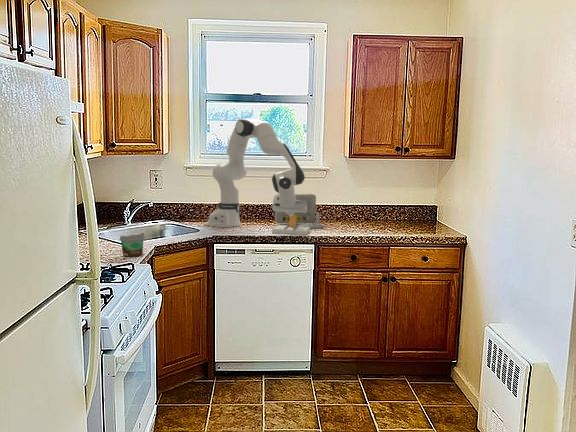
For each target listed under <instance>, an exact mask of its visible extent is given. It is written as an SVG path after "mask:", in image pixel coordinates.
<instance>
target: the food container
mask: <svg viewBox="0 0 576 432" xmlns="http://www.w3.org/2000/svg"><path fill="white" fill-rule="evenodd" d="M145 239H146V237H145V233H143V232H141V234H131V235H128V236H127V235H125V236H124V235H120V237H119V241H121V242H120V244H121V252H122V257H123V258H139V257H142V256H143V251H144V250H143V249H144V240H145Z"/></svg>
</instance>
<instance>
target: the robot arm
mask: <svg viewBox="0 0 576 432" xmlns="http://www.w3.org/2000/svg"><path fill="white" fill-rule="evenodd" d="M250 138H251V139H255V138H256V140H257V143H258V145H259V148H260V149H261V151H262V152H263V153H264V154H265V155H269V156H280V157H283V158H285V160H286V162H287V163H288V165H289V166H290V168H289V169H286V170H283V171H279V172H275V173H274V174H272V175H273V176H272V177H271V182H272V186H273V189H274V191H275V192H276V193H277V194H279V195H277V194H276V195H275V194H274V197H273V199H272V206H271V207H272V208H271V209H272V211H273V212H275V211H278V212H286V213H287V214H288V216H293V214H294V212H296V213H306V212H307V203H306V202H304V201H299V200H296V196H295V194H296V192H295V191H296V190H295V186H298V185H302V184H303V183H304V181H305V178H306V177H305V173H304V171H303V169H302V168H301V167H300V165H299V163H298V162H297V161H296V159H295V157H294V155H293V154H292V152H291V151H290V149H289V147H288V145H286V143H283V142H281V141H280V140H279V139H278V136H277V134H276V132H275V130H274V128H273V126H272V124H270V123H269V122H268V121H265V120H260V119H256V118H240V119H238V120H237V121H236V123H235V125H234V128H233V131H232V132H231V135H230V138H229V141H228V145H227V148H226V154H227V156H228V158H229V159H228V162H224V163H219V164H216V165H214V167H213V169H212V177H213V178H214V180H216V182H217V184H218V185H219V189H220V202H219V203H217V209H215V210H214V211H213V212H211V213H210V214H209V215H208V221H205V222H204V225H205V226H208V227H219V228H230V227H232V228H233V227H238V226H241V220H240V203H239V198H240V197H239V189H238V188H237V187H236V186H235V182H234V181H239V180H242V179H243V178H245V177H246V176H247V172H248V171H247V167H246V166H245V162H244V160H245V159H244V158H245V154H246V149H247V146H248V144H249V140H250Z"/></svg>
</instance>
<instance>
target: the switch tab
mask: <svg viewBox="0 0 576 432" xmlns="http://www.w3.org/2000/svg"><path fill="white" fill-rule="evenodd" d="M296 214H297V213H296V212H294V214H293V216H290V218H289V223H288V224H289V227H295V226H296Z"/></svg>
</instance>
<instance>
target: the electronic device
mask: <svg viewBox="0 0 576 432" xmlns="http://www.w3.org/2000/svg"><path fill="white" fill-rule="evenodd" d="M320 219H321V217H320V212H316V216H315V222H314V223H307V224H300V225H299V226H302V227H310V230H311V229H322V228H323V223H321V221H320Z"/></svg>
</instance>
